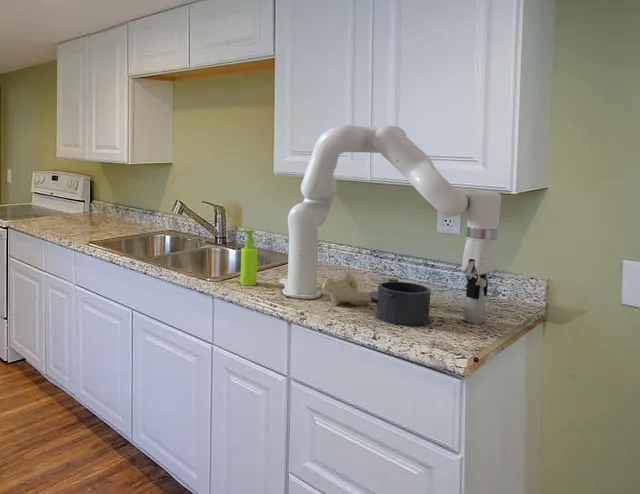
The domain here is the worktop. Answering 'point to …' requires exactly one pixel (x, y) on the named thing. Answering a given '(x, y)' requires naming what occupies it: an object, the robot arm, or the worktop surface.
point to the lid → (375, 294)
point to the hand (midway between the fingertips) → (476, 295)
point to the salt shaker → (476, 306)
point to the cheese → (345, 291)
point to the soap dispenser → (249, 261)
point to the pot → (403, 303)
